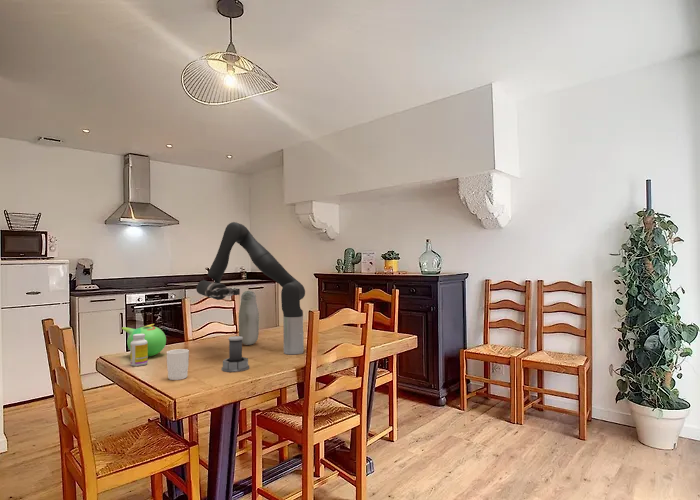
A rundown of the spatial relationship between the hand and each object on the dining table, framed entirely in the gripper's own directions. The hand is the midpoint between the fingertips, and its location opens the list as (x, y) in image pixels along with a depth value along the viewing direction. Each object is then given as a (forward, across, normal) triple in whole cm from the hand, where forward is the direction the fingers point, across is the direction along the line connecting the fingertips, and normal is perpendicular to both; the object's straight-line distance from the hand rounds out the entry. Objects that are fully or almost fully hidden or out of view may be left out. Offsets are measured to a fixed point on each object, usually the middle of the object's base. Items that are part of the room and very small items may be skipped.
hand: (227, 293), depth 187 cm
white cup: (+12, -22, +30) cm, 40 cm away
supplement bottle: (-19, -32, +30) cm, 48 cm away
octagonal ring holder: (+11, 0, +30) cm, 32 cm away
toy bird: (-35, -28, +30) cm, 54 cm away
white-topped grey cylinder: (+11, 0, +29) cm, 31 cm away
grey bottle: (-33, +21, +30) cm, 50 cm away
